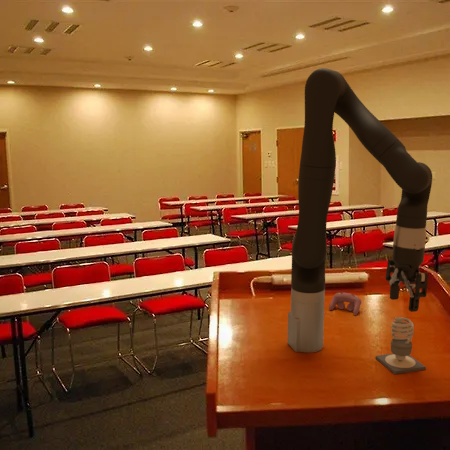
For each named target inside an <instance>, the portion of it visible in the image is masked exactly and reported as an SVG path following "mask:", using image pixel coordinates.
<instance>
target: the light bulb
mask: <svg viewBox="0 0 450 450" xmlns="http://www.w3.org/2000/svg"><path fill="white" fill-rule="evenodd" d="M390 328H391V330H390V332H391V335H390V336H391V337H392V339H391V341H390V352H391V354H392V353H393V354H395V357H396V359H398V360H399V361H402V360H404V359H405V358H406V356H408V355H410V356H411V354H412V349H413V343H412V339H413V336H414V331H415V325H414V322H412V320H411V319H410V318H407V317H402V316H395V317H394V319H393V320H392V321H391V326H390Z"/></svg>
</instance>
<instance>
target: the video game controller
mask: <svg viewBox="0 0 450 450" xmlns="http://www.w3.org/2000/svg"><path fill="white" fill-rule="evenodd" d="M345 302H346V303H348V304H347V305H345ZM361 304H362V300H361V298H360V297H358V296H357V295H356V294H353V293H349V292H336V293H335V294H334V295H333V296H332V298H331V300H330V303H329V306H328V309H329V311H330V310H332V311H333V310H334V308H336V306H337V308H338V309H339V310H344V309H345V308H346V310H347V311H349V312H353V315H354V316H357V315H358V314H359V312H360V308H361Z"/></svg>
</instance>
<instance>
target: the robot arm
mask: <svg viewBox="0 0 450 450" xmlns="http://www.w3.org/2000/svg"><path fill="white" fill-rule="evenodd" d="M335 114H336V115H337V116H338V117H340V118H341V119H342V120H343V121H344V123H345V124H346V125H348V126H349V128H350V129H351V131H352V133H354V135H355V136H356V138H357V139H358V141H359V142H360V143H361V145H362V146H363V147H364V148H365V150H367V152H369V153H370V155H372V157H373V158H374V159H375V160H376V161H377V162H378V163H380V164H381V166H383V167H384V169H385V171H386V172H387V173H388V174H389V176H390V177H391V179H393V181H394V182H395V184H396V185H398V187H399V188H401V196H400V197H401V199H400V201H399V204H398V205H397V210H396V222H395V228H394V234H393V242H392V244H393V245H392V253H391V255H392V256H391V258H389V259H387V264H386V271H385V272H386V273H385V280H386V282H388V283H389V285H390V287H389V288H390V289H389V299H390V300H398V299H399V298H400V297H399V296H400V284H401V283H403V284H404V285H405V288H406V289H407V290H408V293H409V295H410V296H409V302H408V311H409V312H411V313H413V312H414V313H415V312H417V311H418V310H419V309H420V308H419V307H420V306H419V305H420V298H426V297H427V294H428V293H427V292H428V290H427V289H428V273H427V272H421V271H420V266H421V265H422V264H423V263H424V261H425V250H426V240H427V232H426V231H427V219H428V218H427V217H428V205H429V204H428V203H429V200H430V195H431V190H432V185H433V172H432V170H431V167H429V166H428V165H427V164H425V163H424V162H419V161H418V162H417V160H415V158H414V157H413V156H412V155H411V154H410V153H409V152H408V151H407V149H406V146H405V145H404V143H402V141H401V140H400V139H399V138H398V137H397V136H396V135H395V133H393V132H392V131H391V130H390V129H389V128H388V127H387V126H386V125H385V124H384V123H383V122H381V120H379V119H378V118H377V117H376V116H375V115H374V114H373V113H372V112H371V111H370V109H368V107H366V105H365V104H364V103H363V102H362V100H360V99H359V97H358V96H357V94H356V93H355V92H354V90H353V89H352V87H351V86H350V84H349V83H348V81H347V80H346V78H345V77H344V75H343V74H342V73H340V72H339V71H337V70H333V69H330V68H323V67H322V68H318V69H315V70H314V71H312V72H311V73H310V75H308V77H307V79H306V81H305V84H304V127H303V135H302V142H301V152H300V153H301V154H300V159H299V160H300V161H299V171H298V183H297V184H298V185H297V186H298V187H297V189H298V190H297V193H298V195H297V196H298V197H297V198H298V220H297V227H296V232H295V235H294V237H293V240H292V242H291V243H292V244H291V273H290V278H291V279H290V284H291V285H290V287H291V288H290V289H291V291H290V311H288V312H287V344H288V345H289V346H290V347H291V349H292V350H293V351H294V352H296V353H297V352H301V353H316V352H319V351H321V350H322V349H323V348H324V347H323V346H324V329H325V328H324V326H325V325H324V323H325V299H326V297H325V295H326V257H327V254H328V253H327V252H328V249H327V225H328V224H327V223H328V213H329V209H330V205H331V200H332V194H333V189H334V182H335V175H336V165H337V164H336V163H337V155H336V154H337V153H336V146H335V145H336V144H335V139H334V129H333V128H334V127H333V126H334V125H333V124H334V119H335V118H334V117H335ZM391 273H392V274H391Z"/></svg>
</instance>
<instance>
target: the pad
mask: <svg viewBox="0 0 450 450" xmlns="http://www.w3.org/2000/svg"><path fill="white" fill-rule="evenodd" d="M375 360H377V361H378V362H379V363H380V364H381V365H382V366H384V367H385V368H386V369H387V370H389V372H391V373H392V374H394V375H399V374H406V373H412V372H418V371H425V370H426V367H427V366H426V365H424V364H423V363H421V362H420V361H419V360H418V359H416V358H415V357H413V356H412V355H411V354H410V355H408V356H406V358H405V359H404V360H402V361H399V360H398V359H396V357H395V354H393V353H392V352H391V353H387V354H386V353H385V354H380V355H379V354H378V355H375Z"/></svg>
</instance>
